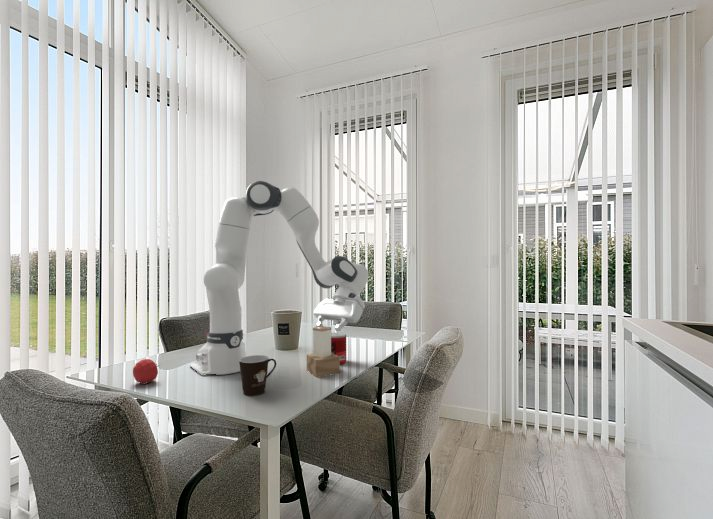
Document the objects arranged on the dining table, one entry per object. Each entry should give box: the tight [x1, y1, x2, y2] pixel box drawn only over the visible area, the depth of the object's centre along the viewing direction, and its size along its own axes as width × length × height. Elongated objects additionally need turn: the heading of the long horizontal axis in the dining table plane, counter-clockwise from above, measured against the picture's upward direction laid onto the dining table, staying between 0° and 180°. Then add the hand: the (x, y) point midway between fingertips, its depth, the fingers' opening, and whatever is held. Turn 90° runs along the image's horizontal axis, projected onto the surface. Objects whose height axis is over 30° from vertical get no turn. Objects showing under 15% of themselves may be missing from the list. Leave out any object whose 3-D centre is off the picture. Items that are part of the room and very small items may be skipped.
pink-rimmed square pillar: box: [312, 325, 332, 358], centre depth 128 cm, size 5×5×10 cm
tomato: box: [132, 358, 160, 384], centre depth 118 cm, size 8×8×8 cm
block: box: [306, 353, 341, 378], centre depth 128 cm, size 9×9×6 cm
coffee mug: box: [239, 354, 277, 397], centre depth 109 cm, size 12×9×10 cm
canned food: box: [331, 331, 347, 365], centre depth 140 cm, size 8×8×11 cm
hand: (327, 328), depth 130 cm, fingers open, 8 cm apart
